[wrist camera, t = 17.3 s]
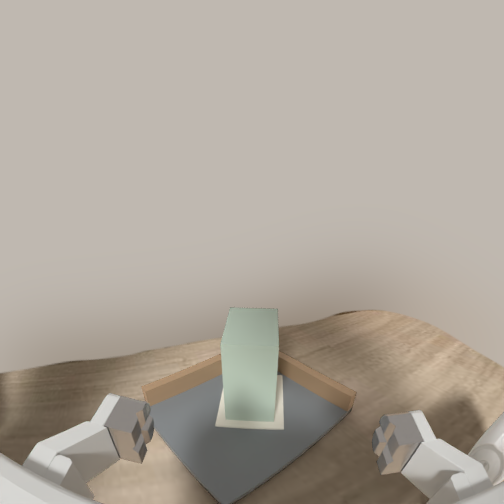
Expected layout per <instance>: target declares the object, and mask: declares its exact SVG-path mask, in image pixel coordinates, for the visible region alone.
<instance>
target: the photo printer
mask: <svg viewBox="0 0 504 504" xmlns="http://www.w3.org/2000/svg"><path fill="white" fill-rule="evenodd" d="M468 456H469V457H471V458H473V459H475V460H476V461H478V462H480V463H481V464H482V465H483V467H484V469H485V471H486V473H487V475H488V476H489V478H490V480H491V482H492V484H493V486H495V485H497V484H499V483H500V482H501V481H502V480H503V479H504V412H503V413H502V414H501V415H500V416H499V417H498V419H497V420H496V421H495V422H494V423H493V424H492V425H491V426H490V427H489V428H488V429H487V430H486V431H485V433H484V434H483V435H482V436H481V438H480V439H479V440H478V441H477V443H476V444H475V445H474V446H473V448H472V449H471V451H470V452H469V453H468Z"/></svg>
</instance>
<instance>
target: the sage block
mask: <svg viewBox="0 0 504 504" xmlns="http://www.w3.org/2000/svg"><path fill="white" fill-rule="evenodd" d="M220 345H221V361H222V376H223V391H224V404H225V417H226V420H242V421H266V422H274V412H275V399H276V385H277V370H278V354H279V332H278V309H265V308H263V309H262V308H230V310H229V314H228V318H227V322H226V325H225V329H224V333H223V337H222V340H221V344H220Z"/></svg>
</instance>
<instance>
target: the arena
mask: <svg viewBox="0 0 504 504" xmlns="http://www.w3.org/2000/svg"><path fill="white" fill-rule="evenodd" d="M142 390H143V394H144V397H145V401H146V402H147V403H149V404H150V408H151V411H150V414H149V415H150V416H151V417H152V418H153V421H154V429H155V430H156V431H157V433H158V434H159V435H160V437H161V438H162V439H163V440H164V442H165V443H166V444H167V445H168V447H169V448H170V449H171V450H172V452H173V453H174V454H175V455H176V456H177V458H178V459H179V460H180V461H181V462H182V463H183V465H184V466H185V467H186V468H187V469H188V470H189V471H190V473H191V474H192V475H193V476H194V477H195V478H196V479H197V480H198V481H199V482H200V484H201V485H202V486H203V487H204V488H205V489H206V490H207V491H208V492H209V493H210V494H211V495H212V496H213V497H214V498H215V499H216V500H217V501H218V502H219V503H220V504H233V503H234V502H236V501H238V500H239V499H241V498H242V497H244V496H245V495H247V494H248V493H250V492H251V491H253V490H254V489H256V488H257V487H259V486H260V485H262V484H263V483H265V482H266V481H267V480H269V479H270V478H272V477H273V476H274V475H276V474H277V473H278V472H280V471H281V470H282V469H284V468H285V467H286V466H288V465H289V464H290V463H292V462H293V461H294V460H295V459H297V458H298V457H299V456H300V455H302V454H303V453H304V452H305V451H307V450H308V449H309V448H310V447H311V446H313V445H314V444H315V443H316V442H317V441H318V440H320V439H321V438H322V437H323V436H324V435H325V434H326V433H327V432H329V431H330V430H331V429H332V428H333V427H334V426H335V425H336V424H337V423H338V422H340V421H341V420H342V419H343V418H344V417H345V416H346V415H347V414H348V413H349V412H350V411H351V409H352V406H353V402H354V399H355V396H356V392H355V391H353V390H351V389H349V388H347V387H346V386H344V385H342V384H340V383H338V382H336V381H334V380H332V379H330V378H328V377H326V376H325V375H323V374H321V373H319V372H317V371H315V370H313V369H312V368H310V367H308V366H306V365H304V364H302V363H301V362H299V361H297V360H295V359H294V358H292V357H290V356H288V355H286V354H285V353H283V352H281V351H279V354H278V370H277V385H276V399H275V412H274V422H266V421H242V420H226V417H225V404H224V391H223V376H222V361H221V354H219V355H217V356H214V357H212V358H210V359H208V360H205V361H203V362H201V363H198V364H196V365H194V366H191V367H189V368H187V369H184V370H182V371H179V372H177V373H175V374H172V375H170V376H167V377H165V378H162V379H160V380H157V381H155V382H152V383H149V384H147V385H144V386H142Z"/></svg>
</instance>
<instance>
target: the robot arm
mask: <svg viewBox="0 0 504 504" xmlns="http://www.w3.org/2000/svg"><path fill="white" fill-rule="evenodd" d="M150 411H151V408H150V404H149V403H147V402H143V401H139V400H135V399H131V398H127V397H123V396H119V395H115V394H112V393H109V394H108V395H107V396H106V397H105V399H104V400H103V402H102V403H101V405H100V407H99V408H98V410H97V411H96V413H95V415H94V416H93V418H92V419H91V421H90V422H88V421H85V422H83V423H81V424H79V425H77V426H75V427H72V428H70V429H68V430H66V431H64V432H61V433H59V434H57V435H55V436H52V437H50V438H48V439H45V440H43V441H41V442H38V443H37V444H36V446H35V447H34V448H33V450H32V451H31V453H30V454H29V456H28V457H27V459H26V460H25V462H24V463H23V465H22V466H21V465H20V464H18V463H16V462H15V461H13V460H11V459H10V458H8V457H6V456H5V455H3V454H2V453H0V504H103V503H100V502H98V501H95V500H93V498H94V494H93V492H92V491H91V490H90V488H89V487H88V485H87V484H86V483H87V482H88V481H90V480H91V479H93V478H94V477H96V476H97V475H99V474H100V473H101V472H103V471H104V470H106V469H107V468H109V467H110V466H111V465H113V464H114V463H116V462H117V461H118V460H120V458H121V459H124V460H128V461H132V462H137V463H141V464H142V462H143V460H144V457H145V454H146V452H147V448H146V445H145V444H147V443H149V442H150V441H151V439H152V436H153V431H154V421H153V418H152V417H151V416H150V415H149V414H150ZM379 423H380V425H381V426H380V427H378V428H377V429H376V430H375V432H374V434H373V439H372V447H373V451H374V453H375V454H376V455H378V456H379V458H378V460H377V464H378V468H379V471H380V475H383V474H390V473H396V472H401V473H402V474H403V475H404V476H405V477H406V478H407V479H408V480H409V481H410V482H411V483H412V484H414V485H415V486H416V487H417V488H418V489H419V490H420V491H421V492H422V493H423V494H425V495H426V496H427V497H428V498H429V499H430V500H429V501H428V502H427V503H426V504H504V481H503V482H501V483H499V484H497V485H495V486H493V484H492V482H491V480H490V478H489V476H488V475H487V473H486V471H485V469H484V467H483V465H482V464H481V463H480V462H478V461H476V460H475V459H473V458H471V457H469V456H468V455H466V454H464V453H463V452H461V451H459V450H458V449H456V448H454V447H453V446H451V445H449V444H448V443H446V442H445V441H443V440H441V439H440V438H439V439H436V437H435V435H434V433H433V431H432V429H431V427H430V425H429V423H428V422H427V420H426V418H425V416H424V414H423V412H422V411H421V410H416V411H410V412H402V413H394V414H386V415H383V416H382V417H381V419H380V421H379Z"/></svg>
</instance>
